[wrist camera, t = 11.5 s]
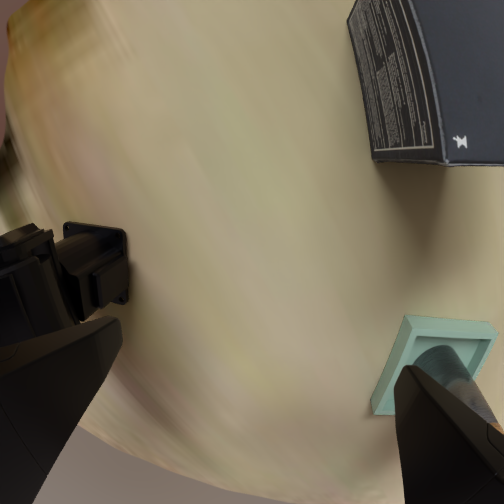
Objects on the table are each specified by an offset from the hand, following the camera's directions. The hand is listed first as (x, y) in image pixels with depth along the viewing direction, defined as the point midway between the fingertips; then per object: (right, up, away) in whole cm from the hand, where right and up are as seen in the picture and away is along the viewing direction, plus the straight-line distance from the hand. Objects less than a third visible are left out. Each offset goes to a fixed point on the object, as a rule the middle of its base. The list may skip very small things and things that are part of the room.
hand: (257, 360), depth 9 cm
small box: (+10, +14, +8) cm, 19 cm away
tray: (+16, -7, +14) cm, 22 cm away
